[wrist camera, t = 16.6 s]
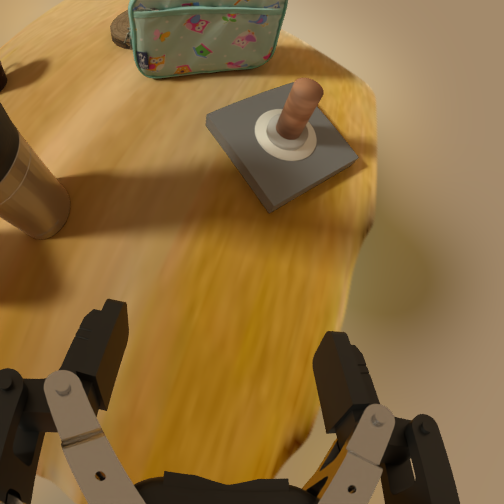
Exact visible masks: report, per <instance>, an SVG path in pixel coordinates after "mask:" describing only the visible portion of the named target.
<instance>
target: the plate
mask: <svg viewBox="0 0 504 504" xmlns="http://www.w3.org/2000/svg"><path fill="white" fill-rule="evenodd" d="M293 84H294V82H292V83H289V84H286V85H283V86H280V87H277V88H274V89H271V90H268V91H265V92H263V93H260V94H257V95H254V96H252V97H249V98H246V99H244V100H241V101H238V102H236V103H233V104H231V105H228V106H226V107H223V108H221V109H219V110H216V111H214V112H211V113H209V114H207V116H206V127H207V128H208V129H209V131H210V132H211V133H212V135H213V136H214V137H215V139H216V140H217V142H218V143H219V144H220V146H221V147H222V148H223V150H224V151H225V152H226V154H227V155H228V157H229V158H230V159H231V161H232V162H233V163H234V165H235V166H236V168H237V169H238V170H239V172H240V173H241V175H242V176H243V177H244V179H245V180H246V182H247V183H248V184H249V186H250V187H251V189H252V190H253V191H254V193H255V194H256V196H257V197H258V199H259V200H260V201H261V203H262V204H263V206H264V207H265V208H266V210H267V211H268V213H271V212H273V211H274V210H276V209H278V208H279V207H281V206H283V205H284V204H286V203H288V202H289V201H291V200H293V199H294V198H296V197H298V196H299V195H301V194H303V193H305V192H306V191H308V190H310V189H311V188H313V187H315V186H316V185H318V184H320V183H322V182H323V181H325V180H327V179H329V178H330V177H332V176H334V175H335V174H337V173H339V172H341V171H342V170H344V169H346V168H348V167H349V166H351V165H352V164H353V163H354V162H355V161H356V160H357V159H358V158H359V157H358V156H357V155H356V153H355V152H354V151H353V149H352V148H351V147H350V146H349V144H348V143H347V142H346V141H345V139H344V138H343V137H342V136H341V134H340V133H339V132H338V131H337V129H336V128H335V127H334V126H333V125H332V123H331V122H330V121H329V120H328V119H327V117H326V116H325V115H324V114H323V113H322V112H321V110H320V109H319V108H318V107H316V108H315V110H314V112H313V114H312V115H311V117H310V119H309V121H308V122H307V124H306V126H307V129H308V138H307V140H306V142H305V143H304V145H303V146H302V147H301V148H299V149H297V150H293V151H288V150H283V149H280V148H278V147H276V146H275V145H274V144H273V143H272V142H271V141H270V140H269V138H268V136H267V133H266V129H267V125H268V123H269V120H270V119H271V118H272V117H273V116H275V115H277V114H281V112H282V110H283V107H284V105H285V103H286V100H287V98H288V96H289V93H290V91H291V89H292V86H293Z"/></svg>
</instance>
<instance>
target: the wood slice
mask: <svg viewBox="0 0 504 504" xmlns="http://www.w3.org/2000/svg"><path fill="white" fill-rule="evenodd" d="M128 27H130V23H129V15H128V10H127V11H125V12H123V13H122V14H120V15H119V16H117V17H116V18H115V19H114V20H113V22H112V24H111V26H110V28H111V36H112V41H113V42H114V43H115V44H116V45H117V46H119V47H122V48H124V49H130V39H127V40H126V42H125V43H124V41H125V38H126V35H127V33H128V32H129V30H128V29H127V28H128ZM132 50H133V49H132Z"/></svg>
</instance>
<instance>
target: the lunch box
mask: <svg viewBox="0 0 504 504" xmlns="http://www.w3.org/2000/svg"><path fill="white" fill-rule="evenodd" d="M287 3H288V0H130V2H129V6H128V15H129V23H130V27H128V28H127V29H128V30H129V32H128V33H127V35H126V38H125V41H124V43H125V42H126V40H127V39H130V49H131V50H132V49H133V54H134V60H135V63H136V66H137V68H138V69H139V71H140V72H141V73H142V74H143V75H144V76H146V77H149V78H167V77H174V76H183V75H191V74H199V73H213V72H219V71H229V70H244V69H253V68H256V67H259V66H261V65H263V64H265V63H266V62H268V61H269V60H270V59H271V57H272V56H273V54H274V52H275V49H276V46H277V42H278V38H279V33H280V30H281V26H282V23H283V20H284V16H285V13H286V8H287Z"/></svg>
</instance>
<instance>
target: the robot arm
mask: <svg viewBox="0 0 504 504" xmlns="http://www.w3.org/2000/svg"><path fill="white" fill-rule="evenodd" d="M69 210H70V199H69V195H68V193H67V191H66V190H65V188H64V187H63V186H62V185H61V184H60V183H59V181H58V180H57V179H56V178H55V176H54V175H53V174H52V173H51V172H50V170H49V169H48V168H47V167H46V166H45V164H44V163H43V162H42V161H41V159H40V158H39V157H38V156H37V154H36V153H35V152H34V151H33V149H32V148H31V147H30V145H29V144H28V143H27V142H26V140H25V139H24V138H23V136H22V135H21V134H20V132H19V131H18V130H17V128H16V127H15V126H14V124H13V123H12V121H11V120H10V118H9V116H8V115H7V113H6V111H5V109H4V108H3V106H2V104H1V103H0V217H1V218H2V219H4V220H6V221H7V222H9V223H10V224H12V225H13V226H15V227H17V228H18V229H20V230H21V231H23V232H24V233H26V234H28V235H29V236H31V237H33V238H35V239H46V238H49V237H51V236H53V235H55V234H56V233H57V232H58V231H59V230H60V229H61V228H62V227H63V225H64V224H65V222H66V220H67V217H68V215H69ZM128 335H129V327H128V314H127V304H126V302H122V301H117V300H112V299H107V300H106V302H105V304H104V306H103V308H102V310H101V311H100V310H95V309H93V310H92V311H91V312H90V313H89V314H87V315H86V316H85V317H84V319H83V321H82V323H81V325H80V327H79V329H78V331H77V333H76V335H75V337H74V339H73V341H72V344H71V346H70V348H69V350H68V352H67V354H66V357H65V359H64V361H63V363H62V366H61V368H60V369H59V370H58V371H55V372H53V373H51V374H50V375H49V376H48V377H47V378H45V379H23V378H22V377H21V375H20V374H19V373H18V372H17V371H16V370H14V369H9V368H6V369H2V370H0V504H31V499H32V493H33V486H34V481H35V476H36V470H37V465H38V461H39V456H40V452H41V447H42V443H43V439H44V435H45V432H58V433H59V436H60V438H61V441H62V444H61V446H62V450H63V452H64V455H65V457H66V459H67V462H68V464H69V466H70V468H71V470H72V473H73V475H74V477H75V479H76V481H77V483H78V485H79V487H80V489H81V491H82V493H83V494H84V496H85V498H86V500H87V502H88V504H368V502H369V500H370V498H371V496H372V494H373V492H374V490H375V487H376V486H377V483H378V481H379V479H380V477H381V483H382V488H383V494H384V500H385V504H460V501H459V497H458V493H457V489H456V485H455V481H454V478H453V474H452V470H451V467H450V463H449V460H448V456H447V453H446V450H445V447H444V443H443V440H442V437H441V434H440V431H439V428H438V425H437V423H436V422H435V420H434V419H433V418H432V417H430V416H428V415H425V414H420V415H417V416H416V417H415V418H414V419H413V420H406V419H402V418H397V417H394V415H393V414H392V412H391V411H390V410H389V409H388V408H387V407H385V406H383V405H381V404H380V403H379V400H378V397H377V394H376V391H375V388H374V385H373V382H372V379H371V377H370V375H369V371H368V368H367V367H366V363H365V360H364V357H363V354H362V353H361V352H360V351H359V349H358V348H357V347H356V346H355V345H351V344H350V341H349V339H348V336H347V334H346V333H345V332H334V331H327V332H326V334H325V335H324V337H323V339H322V341H321V343H320V345H319V347H318V349H317V351H316V353H315V355H314V358H313V371H314V376H315V381H316V385H317V390H318V395H319V400H320V404H321V409H322V414H323V419H324V424H325V429H326V433H327V434H329V433H336V435H337V439H336V440H335V441H334V443H333V445H332V447H331V448H330V450H329V451H328V453H327V455H326V457H325V458H324V460H323V461H322V463H321V465H320V466H319V468H318V470H317V471H316V472H315V474H314V475H313V476H312V477H311V478H310V479H309V481H308V482H307V483H306V484H305V485H304V487H303V488H302V489H301V488H298V487H295V486H292V485H289V482H288V479H257V480H252V481H248V482H243V483H238V484H232V485H225V484H222V483H218V482H215V481H211V480H208V479H205V478H202V477H199V476H196V475H188V474H181V473H174V472H167V471H164V477H155V478H150V479H146V480H143V481H141V482H138V483H136V484H135V485H133V483H132V482H131V480H130V478H129V477H128V475H127V473H126V472H125V470H124V468H123V467H122V465H121V463H120V462H119V460H118V458H117V456H116V454H115V453H114V451H113V449H112V447H111V445H110V443H109V441H108V440H107V438H106V436H105V434H104V432H103V430H102V428H101V426H100V424H99V422H98V420H97V418H96V417H97V413H98V410H99V409H101V410H105V411H107V409H108V405H109V401H110V398H111V394H112V391H113V387H114V384H115V380H116V377H117V374H118V370H119V367H120V364H121V361H122V358H123V354H124V351H125V348H126V345H127V341H128ZM410 458H411V459H412V463H413V467H414V472H415V476H416V479H414V475H413V471H412V466H411V462H410Z"/></svg>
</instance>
